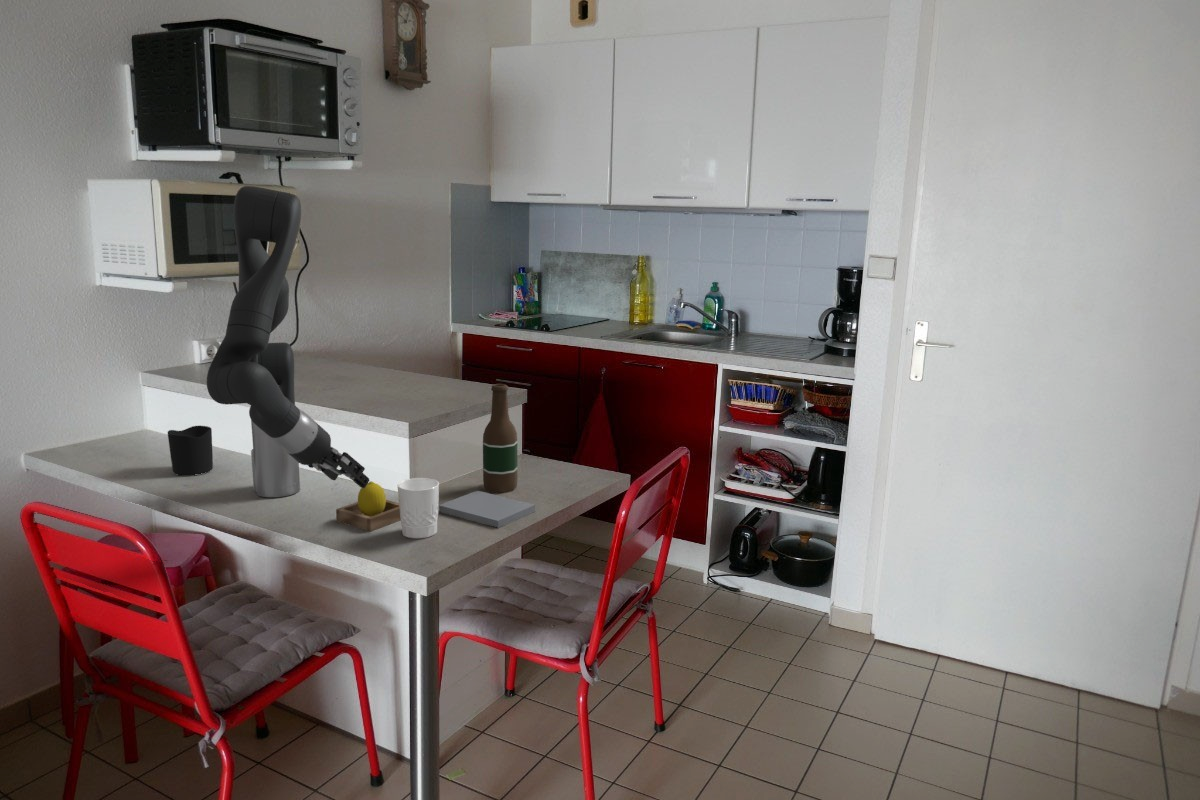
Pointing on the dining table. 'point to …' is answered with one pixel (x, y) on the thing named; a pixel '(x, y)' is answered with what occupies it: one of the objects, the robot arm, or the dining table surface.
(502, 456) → the beer bottle
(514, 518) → the gray board
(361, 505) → the lemon
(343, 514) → the walnut collar
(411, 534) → the white cup
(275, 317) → the robot arm
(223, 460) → the dining table surface
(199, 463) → the pen holder
